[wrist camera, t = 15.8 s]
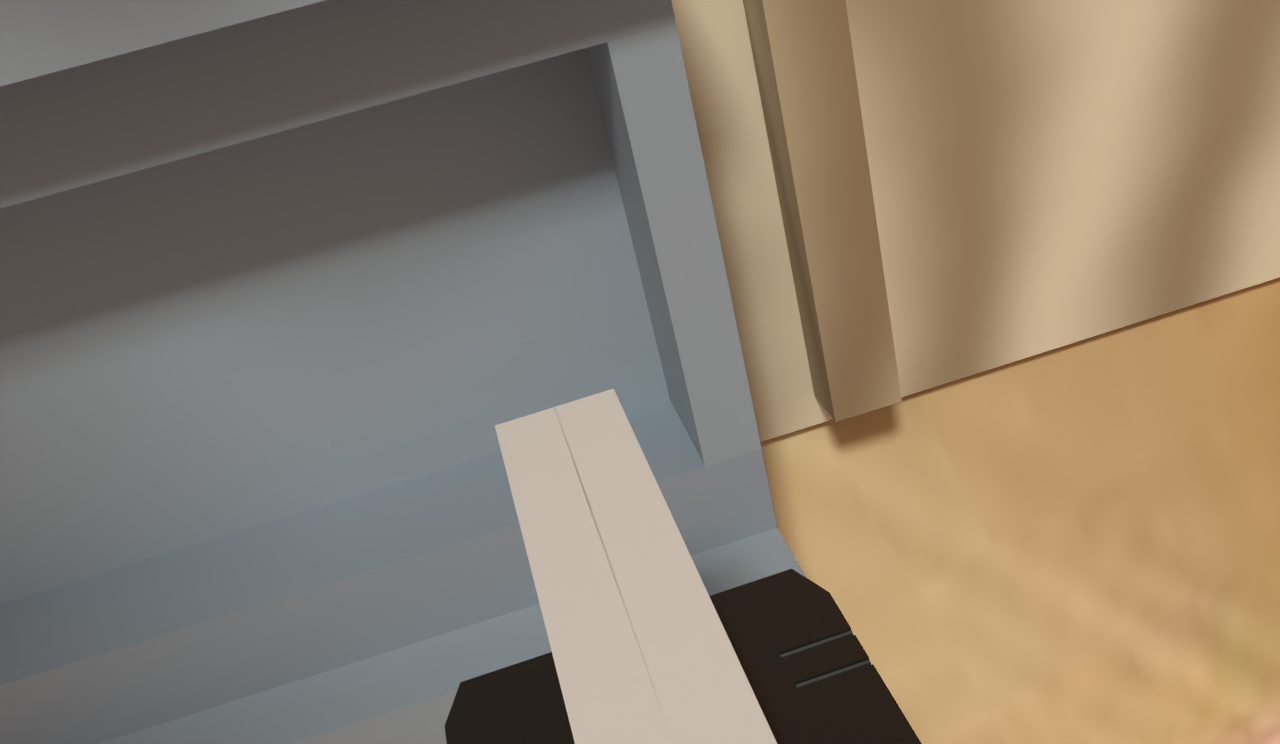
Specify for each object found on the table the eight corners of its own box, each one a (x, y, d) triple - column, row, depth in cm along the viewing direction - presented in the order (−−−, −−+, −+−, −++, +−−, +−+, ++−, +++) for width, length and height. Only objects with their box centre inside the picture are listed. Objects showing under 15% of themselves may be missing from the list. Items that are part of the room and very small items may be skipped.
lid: (730, 432, 29) (758, 478, 27) (621, -58, 23) (644, -45, 21) (1620, 151, 31) (1706, 174, 29) (1709, -357, 25) (1821, -371, 23)
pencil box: (-371, 828, 26) (-539, 1066, 21) (-936, 205, 19) (-1384, 344, 14) (736, 482, 29) (815, 624, 24) (591, -185, 22) (661, -182, 17)
